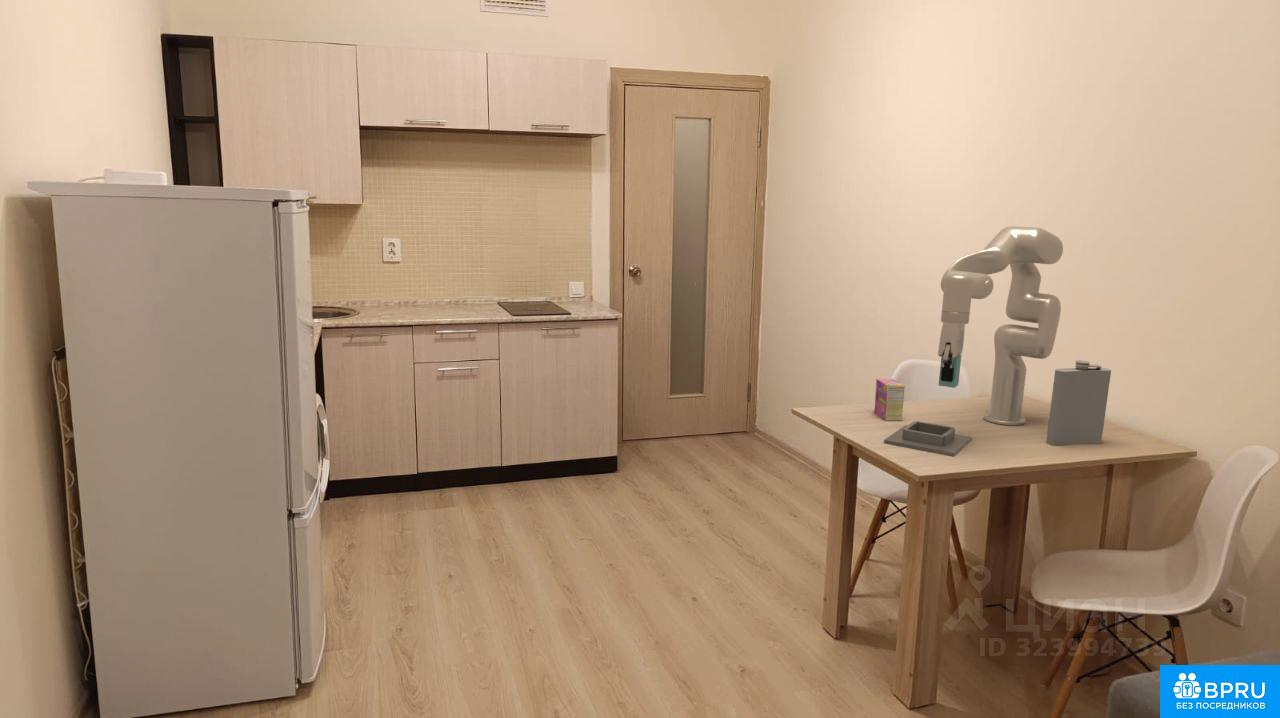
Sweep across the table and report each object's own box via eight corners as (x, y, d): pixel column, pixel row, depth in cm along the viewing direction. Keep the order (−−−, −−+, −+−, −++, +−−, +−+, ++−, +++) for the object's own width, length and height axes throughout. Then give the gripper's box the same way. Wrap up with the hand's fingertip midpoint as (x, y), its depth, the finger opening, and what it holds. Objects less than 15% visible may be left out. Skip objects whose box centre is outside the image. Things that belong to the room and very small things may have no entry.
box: (873, 412, 281) (876, 378, 279) (890, 412, 282) (893, 378, 279) (884, 421, 271) (887, 385, 269) (902, 421, 272) (905, 385, 269)
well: (905, 428, 263) (906, 415, 262) (971, 440, 252) (972, 427, 251) (883, 443, 247) (884, 429, 246) (953, 456, 236) (955, 442, 235)
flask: (1092, 439, 256) (1103, 358, 251) (1103, 443, 251) (1114, 362, 246) (1041, 441, 253) (1051, 359, 248) (1051, 446, 248) (1062, 363, 243)
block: (942, 382, 247) (945, 352, 246) (958, 385, 245) (961, 354, 243) (938, 385, 244) (941, 355, 242) (954, 387, 241) (957, 357, 240)
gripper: (948, 312, 249) (942, 373, 253) (933, 319, 236) (927, 382, 239) (975, 315, 245) (968, 376, 249) (961, 322, 232) (955, 386, 235)
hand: (948, 378), depth 244 cm, fingers closed on block, 4 cm apart
